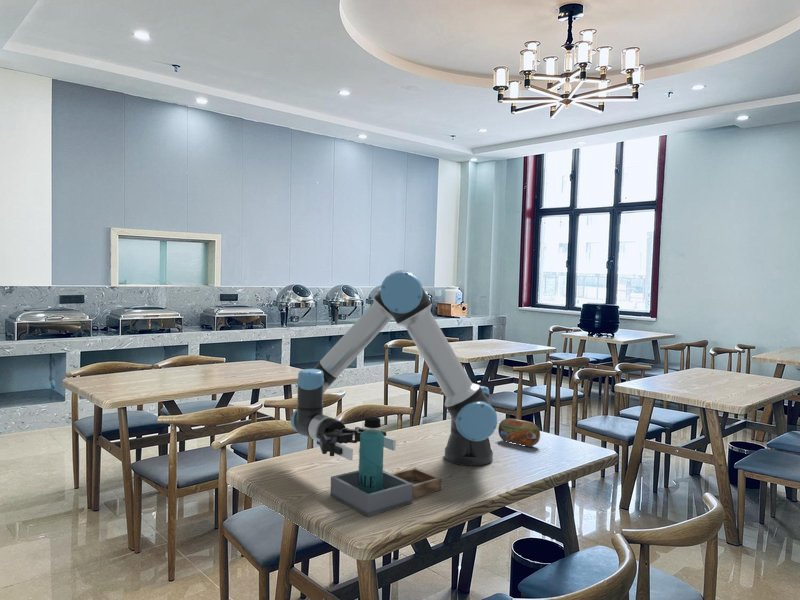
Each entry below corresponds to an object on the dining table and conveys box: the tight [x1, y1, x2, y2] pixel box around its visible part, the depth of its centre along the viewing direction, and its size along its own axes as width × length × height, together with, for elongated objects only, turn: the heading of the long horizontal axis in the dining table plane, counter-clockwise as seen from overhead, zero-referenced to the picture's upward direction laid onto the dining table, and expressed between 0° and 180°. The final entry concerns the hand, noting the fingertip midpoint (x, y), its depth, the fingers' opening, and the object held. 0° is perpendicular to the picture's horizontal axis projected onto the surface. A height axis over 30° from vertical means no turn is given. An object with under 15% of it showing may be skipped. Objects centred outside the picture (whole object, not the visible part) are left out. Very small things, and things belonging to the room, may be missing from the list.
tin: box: [498, 418, 541, 448], centre depth 201 cm, size 15×3×8 cm, turn 50°
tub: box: [329, 470, 414, 518], centre depth 148 cm, size 14×16×5 cm
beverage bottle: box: [358, 416, 385, 494], centre depth 148 cm, size 6×7×20 cm
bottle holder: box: [390, 466, 443, 499], centre depth 157 cm, size 11×11×3 cm
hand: (373, 449), depth 147 cm, fingers open, 13 cm apart
